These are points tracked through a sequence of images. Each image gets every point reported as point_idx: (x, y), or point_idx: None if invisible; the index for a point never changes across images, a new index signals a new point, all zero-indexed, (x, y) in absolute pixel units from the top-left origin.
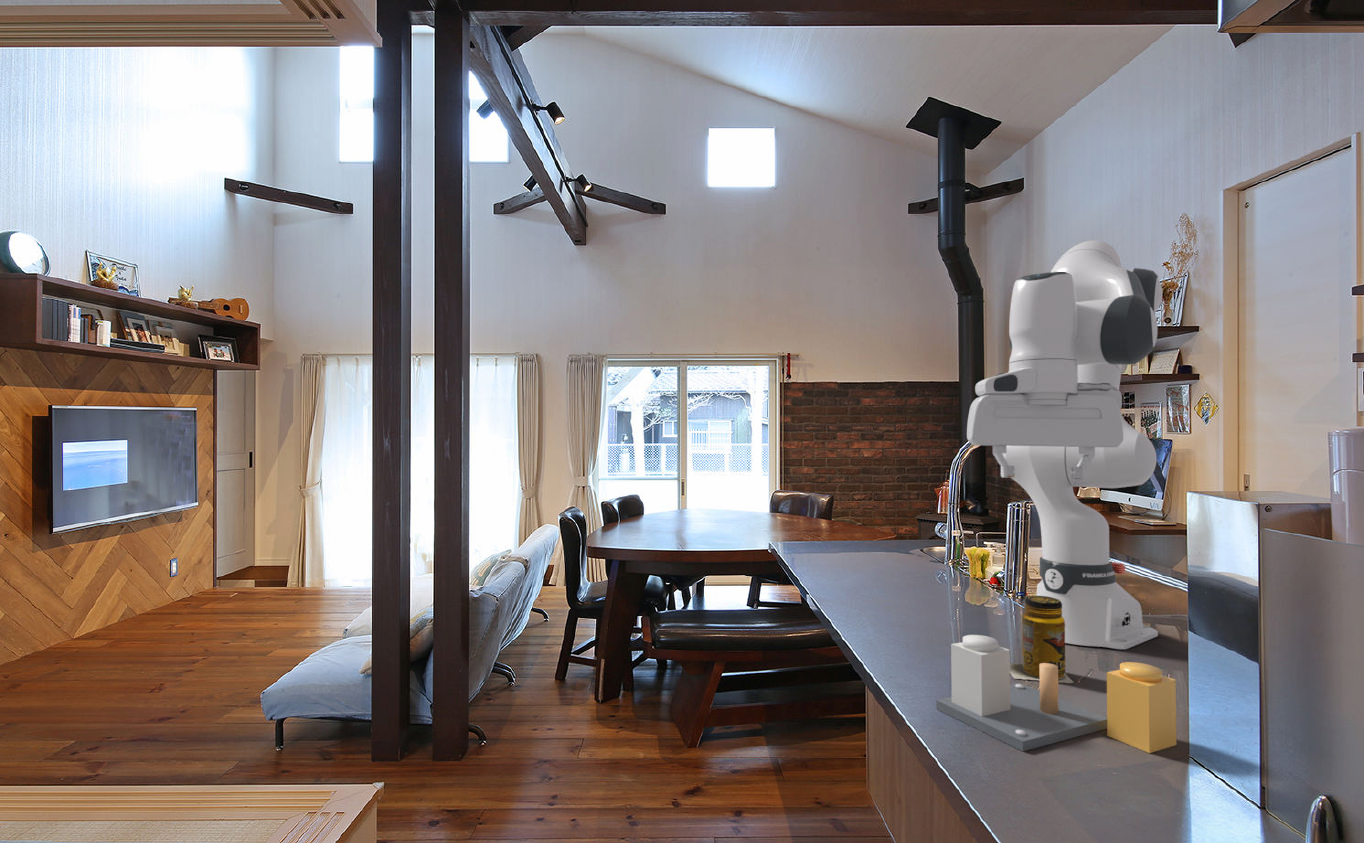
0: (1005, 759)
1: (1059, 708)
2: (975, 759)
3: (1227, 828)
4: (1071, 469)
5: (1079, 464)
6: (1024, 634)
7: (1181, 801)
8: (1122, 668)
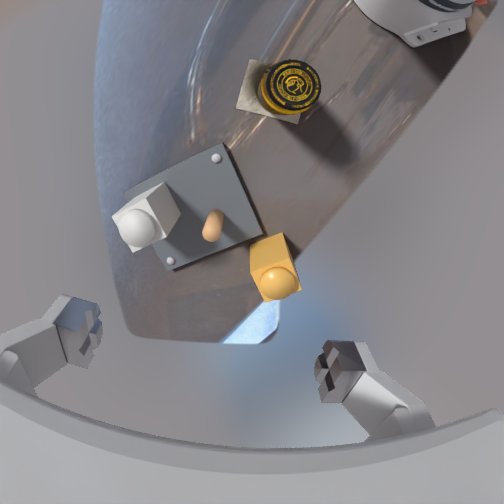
0: (153, 276)
1: (228, 211)
2: (134, 275)
3: (243, 341)
4: (333, 370)
5: (361, 391)
6: (259, 87)
7: (238, 322)
8: (260, 284)
